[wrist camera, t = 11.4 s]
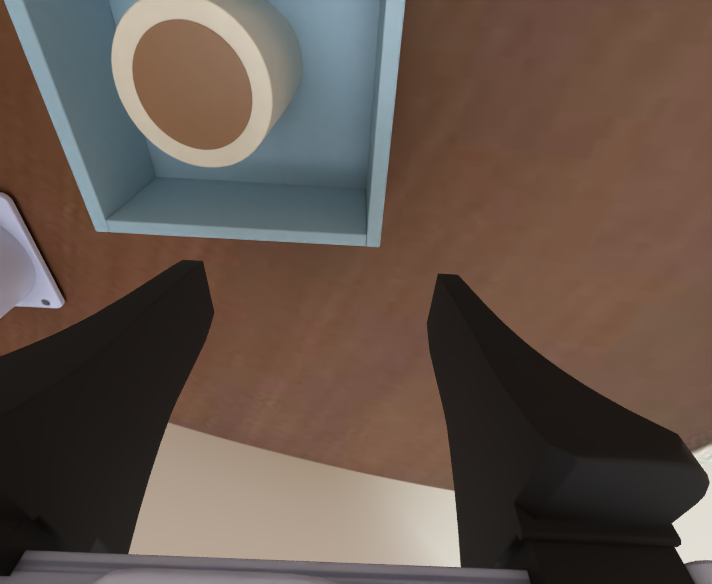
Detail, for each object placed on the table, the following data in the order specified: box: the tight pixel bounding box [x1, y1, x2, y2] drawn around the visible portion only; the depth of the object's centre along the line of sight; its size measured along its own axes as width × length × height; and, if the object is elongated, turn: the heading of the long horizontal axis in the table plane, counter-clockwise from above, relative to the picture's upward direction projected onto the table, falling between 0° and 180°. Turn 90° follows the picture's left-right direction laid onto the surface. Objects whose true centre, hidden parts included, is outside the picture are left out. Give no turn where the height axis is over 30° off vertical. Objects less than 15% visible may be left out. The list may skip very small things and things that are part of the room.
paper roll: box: [111, 0, 303, 167], centre depth 14 cm, size 5×5×7 cm
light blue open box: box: [4, 0, 406, 247], centre depth 15 cm, size 12×12×6 cm
